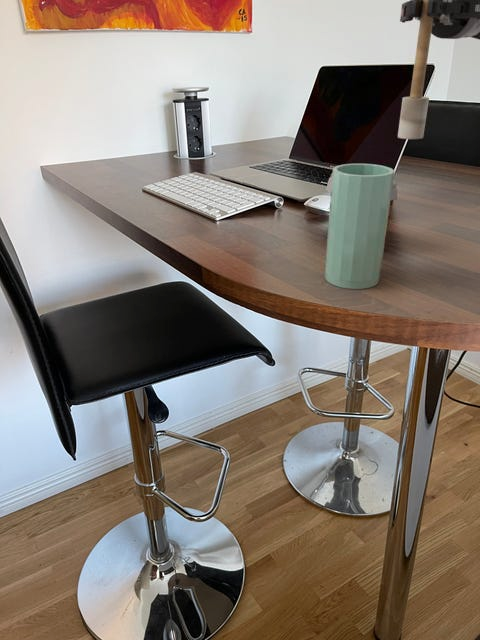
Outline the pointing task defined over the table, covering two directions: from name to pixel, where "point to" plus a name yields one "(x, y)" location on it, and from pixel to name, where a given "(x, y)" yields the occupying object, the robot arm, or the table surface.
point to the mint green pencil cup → (357, 224)
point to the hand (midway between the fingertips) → (421, 7)
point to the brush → (417, 85)
